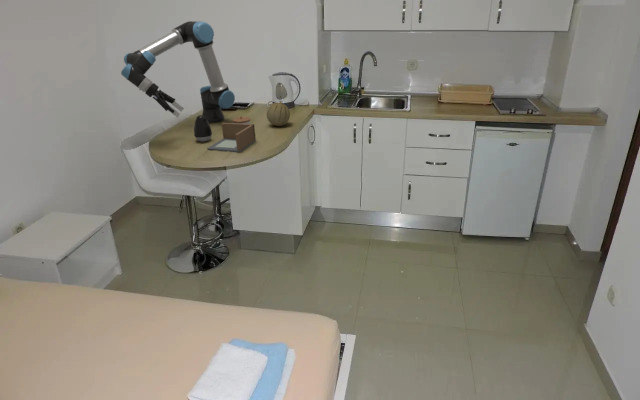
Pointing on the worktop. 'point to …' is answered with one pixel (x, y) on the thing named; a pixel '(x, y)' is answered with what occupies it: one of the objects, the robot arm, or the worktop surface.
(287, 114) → the cantaloupe
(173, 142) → the worktop surface
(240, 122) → the lidded jar
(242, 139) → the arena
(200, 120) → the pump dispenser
